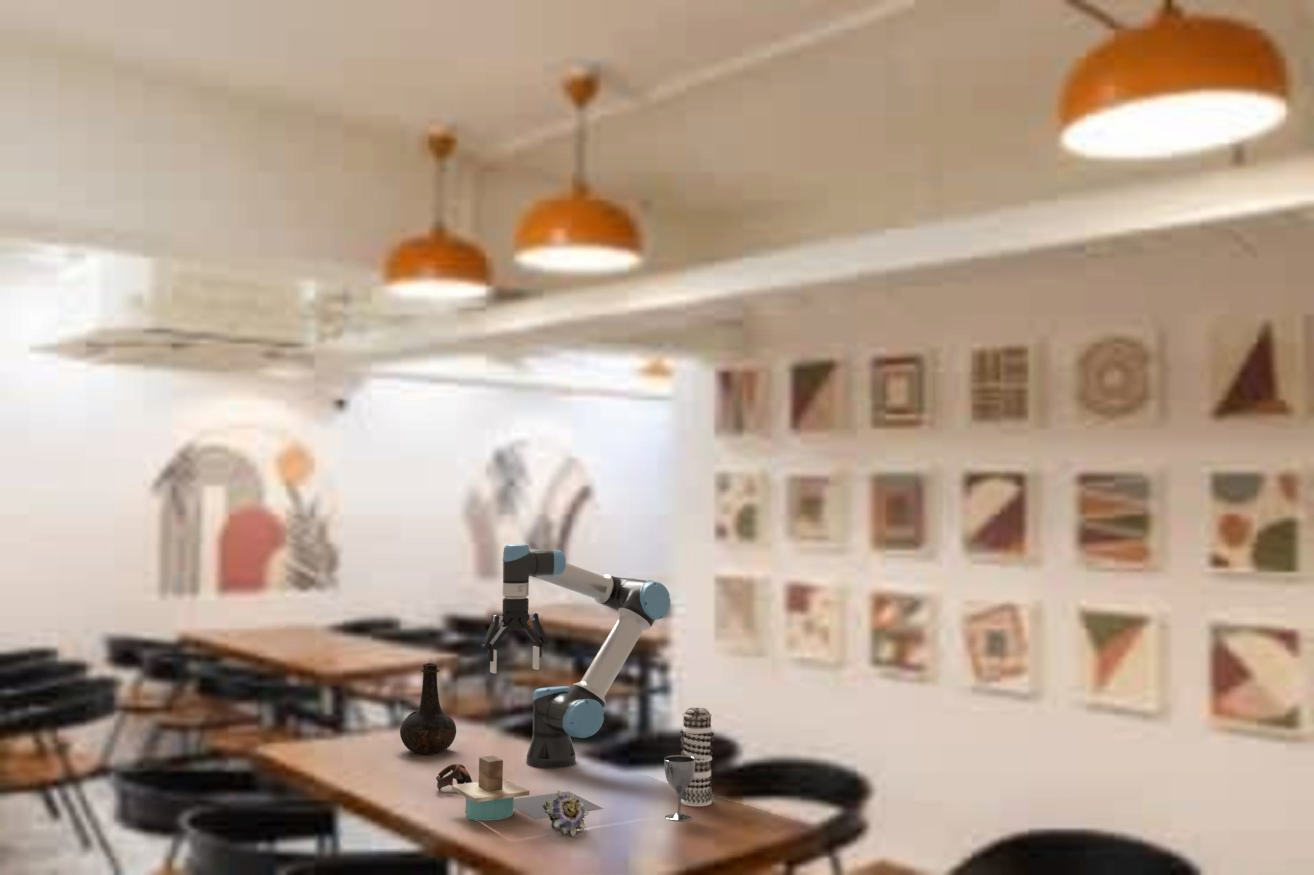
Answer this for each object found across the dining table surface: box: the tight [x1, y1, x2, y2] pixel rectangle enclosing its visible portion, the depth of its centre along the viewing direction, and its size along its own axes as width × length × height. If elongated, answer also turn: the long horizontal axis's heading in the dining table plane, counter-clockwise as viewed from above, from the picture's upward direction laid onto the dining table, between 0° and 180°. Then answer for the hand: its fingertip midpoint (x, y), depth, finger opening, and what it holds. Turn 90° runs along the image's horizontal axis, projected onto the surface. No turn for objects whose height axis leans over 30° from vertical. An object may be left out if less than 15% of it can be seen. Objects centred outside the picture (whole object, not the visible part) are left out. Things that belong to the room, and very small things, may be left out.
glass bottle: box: [399, 662, 457, 755], centre depth 369 cm, size 18×18×28 cm
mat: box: [514, 791, 604, 820], centre depth 306 cm, size 20×20×1 cm
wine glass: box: [663, 754, 695, 822], centre depth 298 cm, size 8×8×15 cm
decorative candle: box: [679, 707, 715, 807], centre depth 313 cm, size 9×9×25 cm
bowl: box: [465, 797, 515, 823], centre depth 297 cm, size 12×12×6 cm
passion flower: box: [543, 790, 590, 838], centre depth 284 cm, size 11×11×12 cm
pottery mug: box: [435, 763, 473, 791], centre depth 322 cm, size 12×10×8 cm
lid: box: [451, 755, 530, 803], centre depth 297 cm, size 15×15×8 cm
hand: (514, 671), depth 334 cm, fingers open, 13 cm apart
